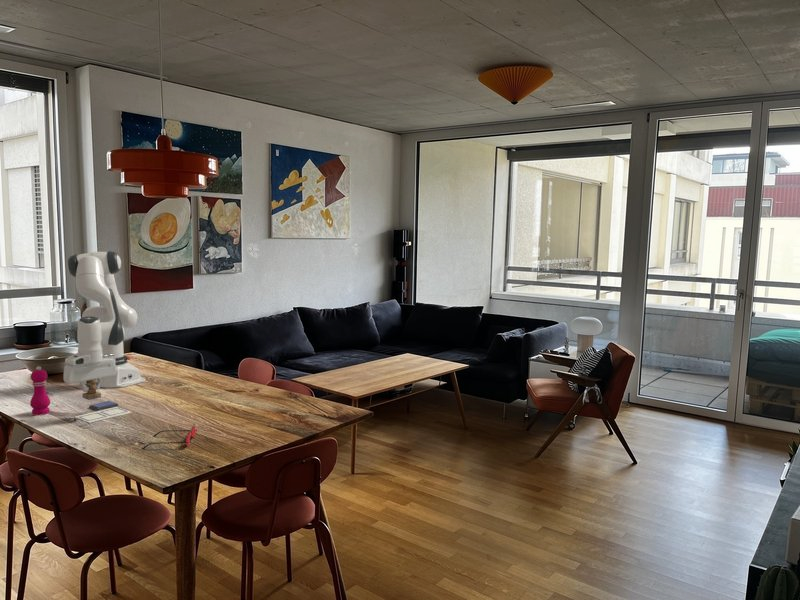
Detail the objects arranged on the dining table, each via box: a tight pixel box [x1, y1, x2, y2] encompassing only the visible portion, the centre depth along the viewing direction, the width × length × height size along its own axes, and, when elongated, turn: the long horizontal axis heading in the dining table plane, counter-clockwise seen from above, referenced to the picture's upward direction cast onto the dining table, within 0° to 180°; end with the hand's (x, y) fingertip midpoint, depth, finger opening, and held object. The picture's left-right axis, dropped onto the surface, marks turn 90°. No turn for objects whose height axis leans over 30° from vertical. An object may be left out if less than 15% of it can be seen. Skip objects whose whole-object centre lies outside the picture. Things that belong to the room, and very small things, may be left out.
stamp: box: [82, 379, 102, 401], centre depth 246 cm, size 5×5×8 cm
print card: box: [74, 406, 133, 424], centre depth 252 cm, size 18×12×1 cm, turn 144°
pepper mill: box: [29, 365, 51, 416], centre depth 251 cm, size 7×7×20 cm
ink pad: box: [89, 400, 119, 411], centre depth 263 cm, size 9×7×1 cm
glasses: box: [141, 425, 198, 450], centre depth 222 cm, size 14×16×5 cm
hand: (91, 390), depth 247 cm, fingers closed on stamp, 3 cm apart
